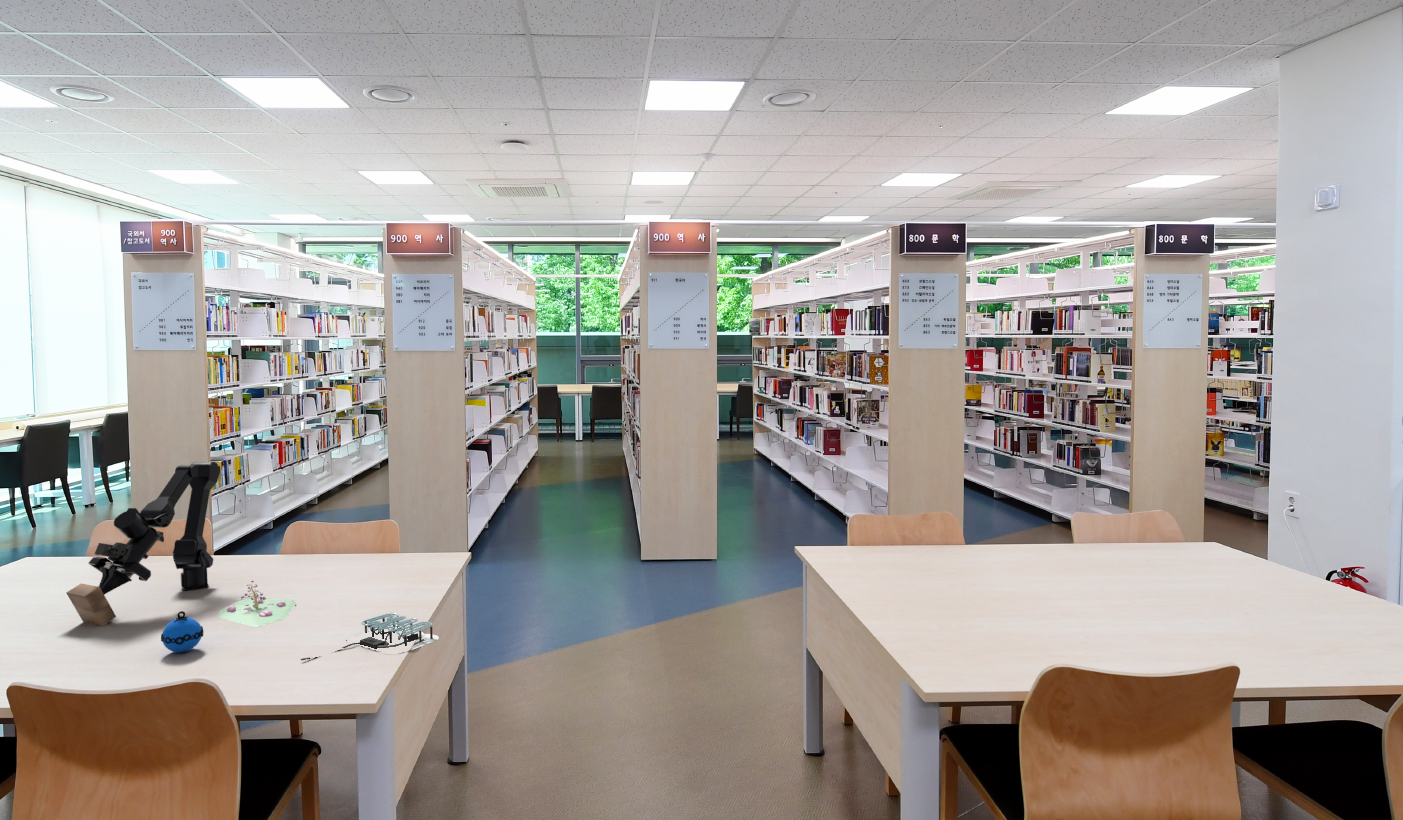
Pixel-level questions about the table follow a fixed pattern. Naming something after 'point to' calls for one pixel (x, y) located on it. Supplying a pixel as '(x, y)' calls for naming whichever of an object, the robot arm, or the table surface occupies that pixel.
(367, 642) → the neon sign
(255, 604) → the plant
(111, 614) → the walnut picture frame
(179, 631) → the ornament
